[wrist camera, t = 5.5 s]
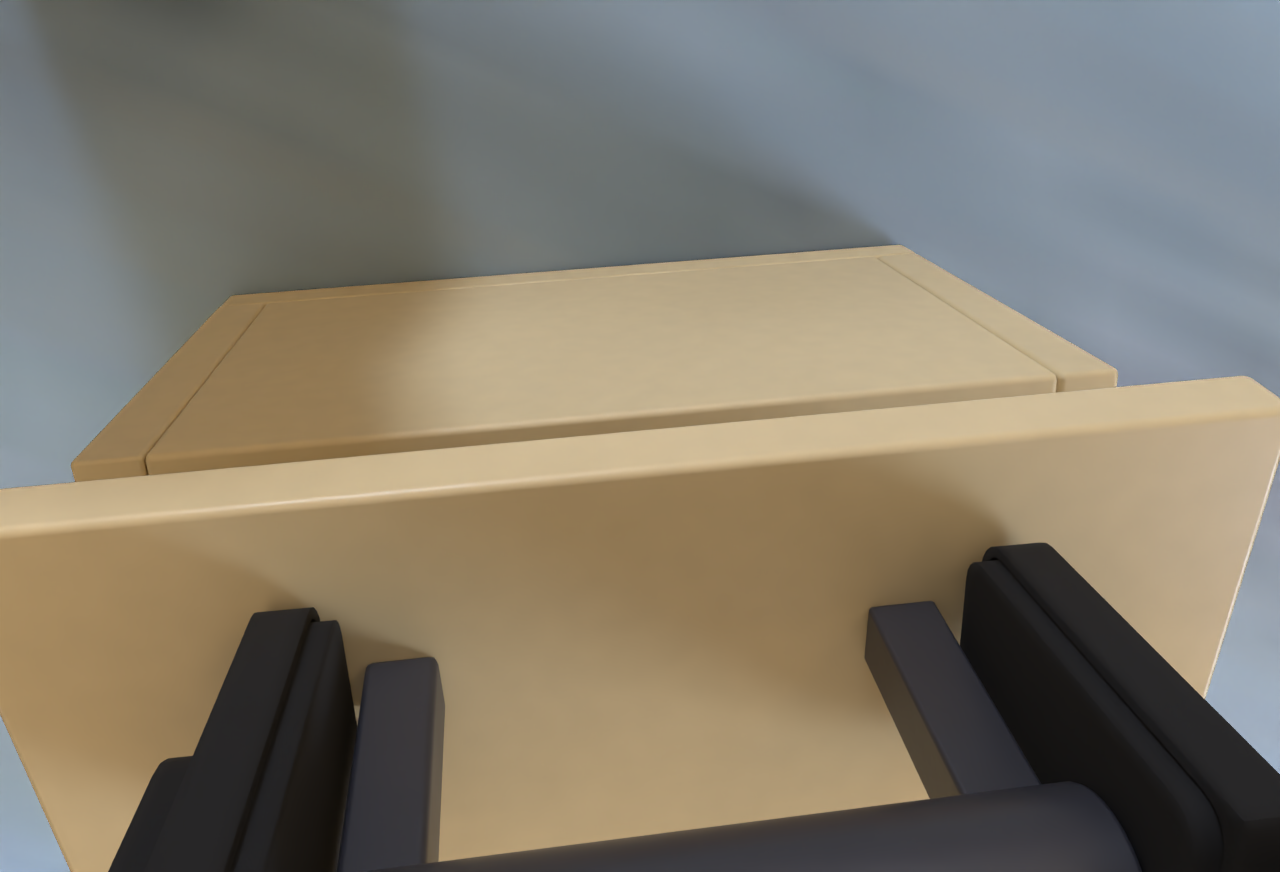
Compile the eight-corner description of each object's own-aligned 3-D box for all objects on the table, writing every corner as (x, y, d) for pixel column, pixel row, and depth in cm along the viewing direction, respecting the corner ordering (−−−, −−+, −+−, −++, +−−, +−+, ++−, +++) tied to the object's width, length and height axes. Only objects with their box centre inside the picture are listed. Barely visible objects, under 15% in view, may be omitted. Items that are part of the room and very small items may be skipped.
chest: (229, 294, 19) (68, 462, 12) (902, 243, 20) (1122, 368, 13) (357, 938, 25) (300, 1310, 18) (874, 869, 26) (1015, 1191, 19)
